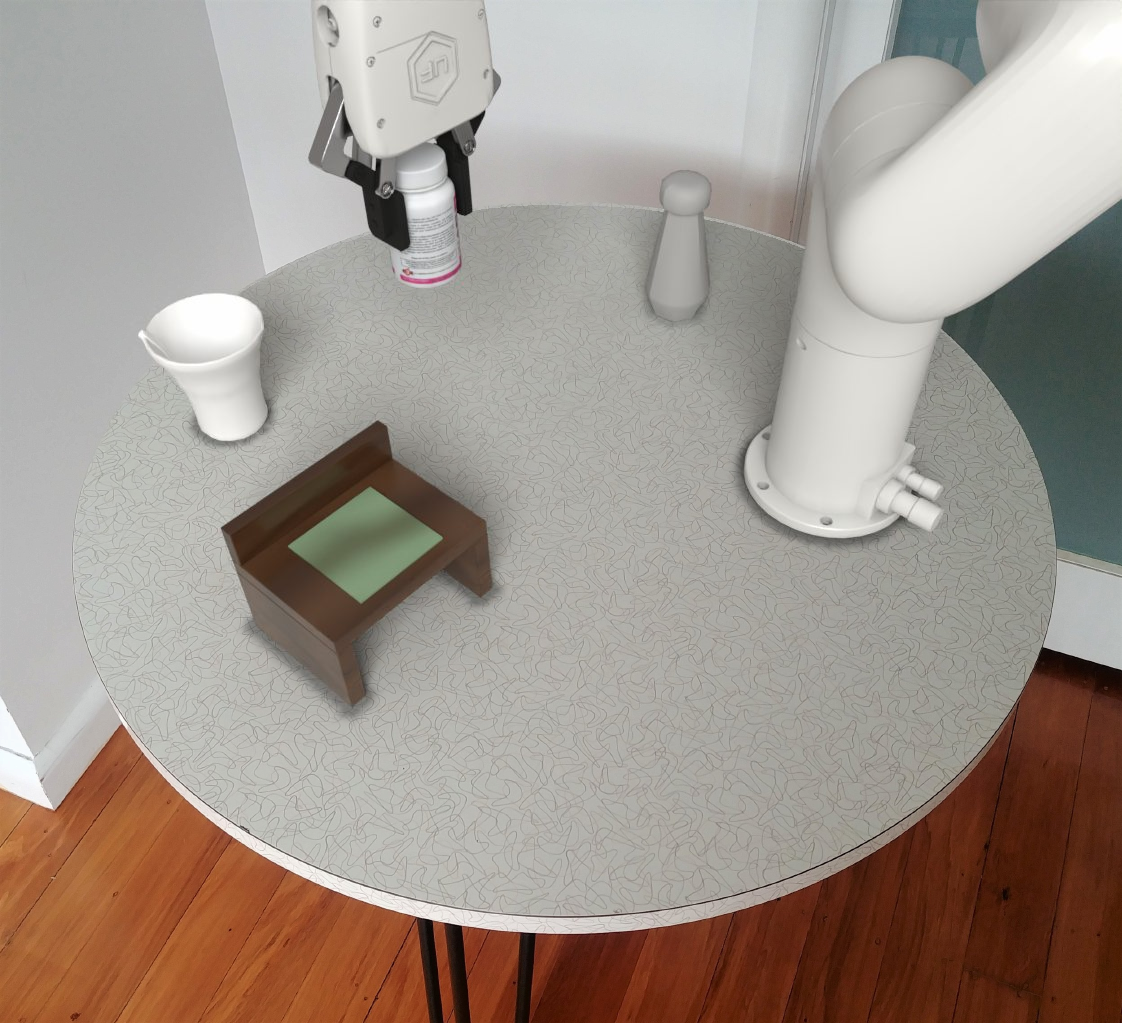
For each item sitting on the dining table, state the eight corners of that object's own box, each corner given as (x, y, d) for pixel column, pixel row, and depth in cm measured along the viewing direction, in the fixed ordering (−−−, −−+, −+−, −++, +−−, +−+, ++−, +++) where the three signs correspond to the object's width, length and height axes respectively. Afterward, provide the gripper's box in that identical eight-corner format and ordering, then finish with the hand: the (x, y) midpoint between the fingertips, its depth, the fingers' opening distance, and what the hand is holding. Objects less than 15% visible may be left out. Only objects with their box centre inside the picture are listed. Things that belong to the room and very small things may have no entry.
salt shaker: (647, 286, 99) (655, 157, 89) (709, 292, 98) (724, 163, 89) (640, 324, 95) (647, 193, 85) (704, 330, 94) (719, 199, 85)
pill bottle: (477, 271, 72) (467, 157, 66) (420, 299, 70) (405, 184, 64) (434, 242, 75) (421, 130, 69) (379, 269, 73) (360, 155, 66)
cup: (180, 392, 89) (145, 293, 82) (292, 383, 90) (267, 284, 82) (166, 466, 83) (127, 366, 76) (286, 455, 84) (259, 356, 76)
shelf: (492, 587, 75) (483, 488, 67) (352, 707, 68) (325, 612, 61) (395, 519, 79) (377, 419, 72) (255, 625, 72) (219, 527, 65)
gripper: (301, -10, 51) (359, 305, 64) (546, -102, 59) (552, 194, 72) (210, -49, 54) (283, 257, 67) (454, -130, 62) (476, 157, 76)
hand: (422, 222), depth 70 cm, fingers closed on pill bottle, 4 cm apart
